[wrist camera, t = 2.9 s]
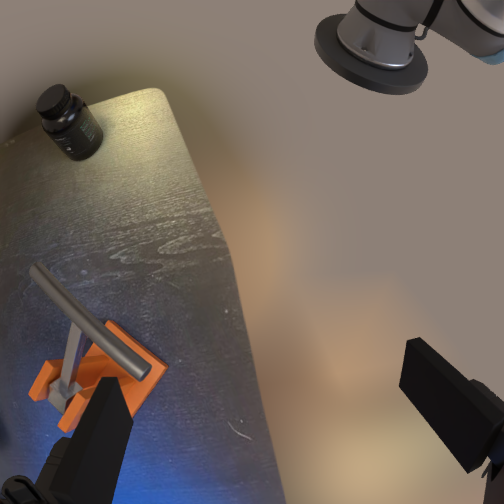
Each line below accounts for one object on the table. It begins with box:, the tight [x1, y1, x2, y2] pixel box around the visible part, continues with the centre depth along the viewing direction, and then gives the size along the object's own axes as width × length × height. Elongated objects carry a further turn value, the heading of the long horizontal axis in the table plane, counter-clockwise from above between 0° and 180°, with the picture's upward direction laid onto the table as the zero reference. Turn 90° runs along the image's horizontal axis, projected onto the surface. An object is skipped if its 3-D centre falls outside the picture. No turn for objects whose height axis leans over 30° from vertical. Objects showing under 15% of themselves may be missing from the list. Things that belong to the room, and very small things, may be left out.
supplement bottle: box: [36, 84, 103, 161], centre depth 37 cm, size 7×7×12 cm
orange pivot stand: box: [29, 320, 169, 433], centre depth 28 cm, size 12×9×14 cm
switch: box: [29, 262, 152, 415], centre depth 21 cm, size 12×12×2 cm
